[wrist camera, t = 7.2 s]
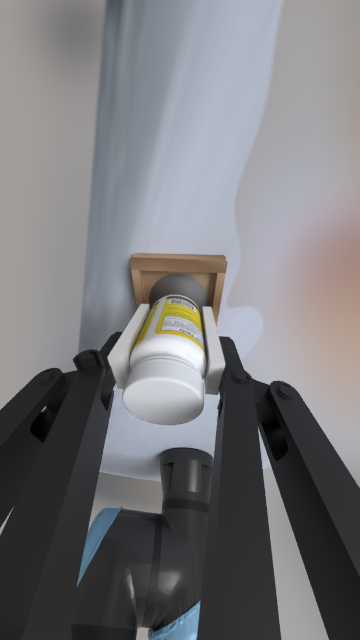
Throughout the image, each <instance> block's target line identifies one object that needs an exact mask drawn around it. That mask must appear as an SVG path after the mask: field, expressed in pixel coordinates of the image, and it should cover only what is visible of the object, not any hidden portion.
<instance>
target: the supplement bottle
mask: <svg viewBox="0 0 360 640" xmlns="http://www.w3.org/2000/svg"><path fill="white" fill-rule="evenodd" d="M130 368H131V373H130V375H129V378H128V380H127V383H126V386H125V388H124V391H123V395H122V400H123V403H124V405H125V407H126V409H127V410H128V411H129V412H130V413H132V414H133V415H134V416H136V417H137V418H139V419H141V420H144V421H146V422H150V423H154V424H159V425H177V424H183V423H187V422H189V421H192V420H194V419H195V418H196V417H198V416H199V415H200V414H201V412H202V410H203V406H204V396H203V387H204V386H203V378H204V376H205V374H206V371H207V357H206V350H205V342H204V334H203V327H202V320H201V313H200V310H199V308H198V307H197V305H196V304H195V303H194V302H193V301H192V300H191V299H189V298H187V297H185V296H182V295H168V296H165V297H163V298H161V299H159V300H158V301H157V302H156V303H155V304H154V305H153V307H152V309H151V311H150V313H149V315H148V317H147V320H146V322H145V324H144V327H143V329H142V331H141V333H140V335H139V338H138V340H137V342H136V344H135V346H134V348H133V350H132V353H131V357H130Z"/></svg>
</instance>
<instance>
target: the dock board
mask: <svg viewBox="0 0 360 640" xmlns="http://www.w3.org/2000/svg"><path fill="white" fill-rule="evenodd" d="M225 259H226V257H225V256H224V255H188V254H151V253H135V254H133V258H131V259H130V265H131V272H132V278H133V285H134V292H135V299H136V305H137V309H138V308H139V306H140V305H141V304H149V307H150V311H151V309H152V307H153V305H154V304H155V303H156V302H157V301H158V300H159V299H161V298H163V297H165V296H168V295H182V296H185V297H187V298H189V299H191V300H192V301H193V302H194V303H195V304H196V305H197V307H198V308H199V310H200V313H201V317H202V307H203V306H204V307H211V308H212V312H213V316H214V320H215V324H216V326H217V320H218V314H219V309H220V303H221V297H222V291H223V285H224V279H225V274H226V268H227V261H226V260H225Z"/></svg>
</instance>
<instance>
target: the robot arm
mask: <svg viewBox="0 0 360 640" xmlns="http://www.w3.org/2000/svg"><path fill="white" fill-rule="evenodd" d="M149 313H150V307H149V304H141V305H140V306H139V308H138V309H137V311H136V313H135V314H134V316H133V317H132V319H131V321H130V322H129V324H128V325H127V327H126V328H125V330H124V332H116V333H114V334H113V335H111V336H110V338H109V339H108V340H107V342H106V343H105V345H104V346H103V347H102V349H101V350H100V352H99V351H97V350H86V351H83V352H81V353H79V354H78V355H76V356H75V357H74V359H73V362H74V363H75V366H76V367H77V369H78V370H77V371H72V372H67V373H62V371H61V370H60V369H58V368H50V369H47V370H44V371H42V372H41V373H39V374H38V375H36V376H35V377H34V378H33V379H32V380H31V381H30V382H29V383H28V384H27V385H26V386H25V387H24V388H23V389H22V390H20V391H19V392H18V393H17V394H16V395H15V396H14V398H12V399H11V400H10V401H9V402H8V403H7V404H6V405H5V406H4V407H3V408H2V409H1V410H0V527H1V526H2V524H3V522H4V521H5V519H6V518H7V516H8V515H9V513H10V511H11V510H12V508H13V510H12V512H11V514H10V516H9V518H8V520H7V522H6V525H5V527H4V529H3V531H2V533H1V535H0V640H136V635H137V629H138V627H145V628H149V630H148V637H149V640H281V634H280V624H279V615H278V605H277V597H276V587H275V578H274V569H273V561H272V552H271V542H270V533H269V524H268V515H267V506H266V497H265V488H264V479H263V469H262V460H261V451H260V442H259V433H258V428H259V431H260V434H261V437H262V440H263V443H264V446H265V449H266V452H267V455H268V458H269V461H270V464H271V467H272V470H273V473H274V476H275V479H276V482H277V485H278V488H279V490H280V494H281V497H282V499H283V502H284V506H285V509H286V512H287V515H288V518H289V520H290V524H291V527H292V530H293V533H294V536H295V539H296V542H297V545H298V548H299V550H300V554H301V557H302V560H303V563H304V565H305V569H306V572H307V575H308V578H309V581H310V584H311V587H312V589H313V593H314V596H315V599H316V601H317V605H318V608H319V611H320V614H321V617H322V620H323V622H324V626H325V629H326V632H327V635H328V638H329V640H360V488H359V486H358V485H357V484H356V482H355V480H354V479H353V477H352V476H351V474H350V473H349V471H348V469H347V468H346V466H345V465H344V463H343V461H342V460H341V458H340V457H339V455H338V454H337V452H336V451H335V449H334V447H333V446H332V444H331V443H330V441H329V440H328V438H327V436H326V435H325V433H324V432H323V430H322V429H321V427H320V426H319V424H318V423H317V421H316V420H315V418H314V416H313V415H312V413H311V412H310V410H309V408H308V407H307V405H306V404H305V402H304V401H303V399H302V397H301V396H300V394H299V393H298V392H297V391H296V390H295V388H293V387H292V386H290V385H289V384H287V383H285V382H282V381H273V382H272V383H271V384H270V385H268V384H265V383H262V382H259V381H256V380H254V379H252V377H251V376H250V375H249V374H248V373H247V372H246V371H245V370H244V369H243V366H242V363H241V360H240V358H239V355H238V352H237V349H236V347H235V344H234V342H233V340H232V339H231V338H230V337H220V336H218V332H217V328H216V324H215V320H214V316H213V312H212V308H211V307H204V306H203V307H202V317H201V320H202V327H203V334H204V342H205V350H206V357H207V371H206V374H205V376H204V383H205V394H212V395H218V392H219V393H220V401H219V404H218V408H217V409H218V419H217V430H216V441H215V451H214V461H213V457H212V456H211V455H209V454H208V453H206V452H203V451H200V450H195V449H188V448H178V449H171V450H168V451H165V452H164V453H162V455H161V461H160V471H161V481H162V490H163V503H162V512H161V514H157V513H149V512H142V511H135V510H128V509H123V508H122V507H120V508H104V509H102V510H101V511H100V512H99V513H98V515H97V516H96V517H95V519H94V521H93V523H92V524H91V527H90V528H89V531H88V526H89V521H90V516H91V511H92V506H93V501H94V495H95V490H96V484H97V480H98V475H99V470H100V464H101V459H102V454H103V449H104V444H105V438H106V433H107V428H108V423H109V418H110V413H111V407H112V402H113V397H114V391H113V387H114V385H115V383H116V385H117V388H121V389H124V388H125V386H126V383H127V380H128V378H129V375H130V373H131V368H130V357H131V353H132V350H133V348H134V346H135V344H136V342H137V340H138V338H139V335H140V333H141V331H142V329H143V327H144V324H145V322H146V320H147V317H148V315H149ZM45 406H46V409H45V410H44V411H43V412H41V411H42V410H43V408H44V407H45Z"/></svg>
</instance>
